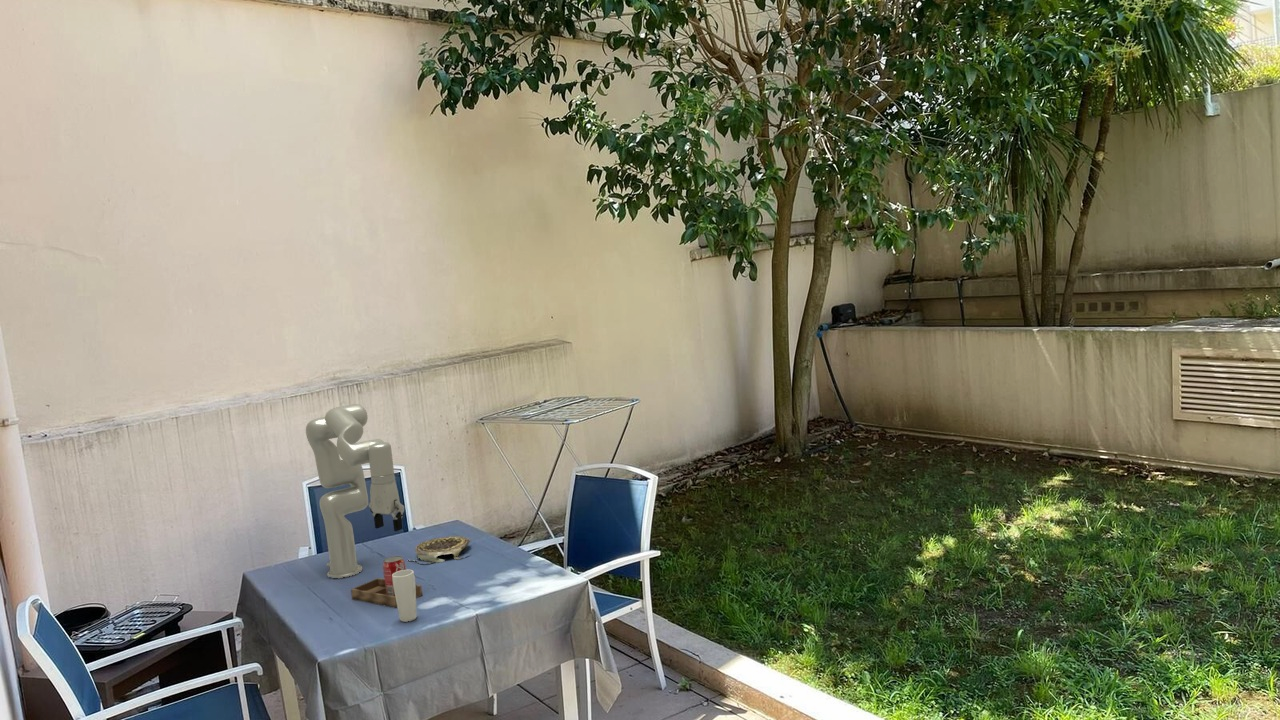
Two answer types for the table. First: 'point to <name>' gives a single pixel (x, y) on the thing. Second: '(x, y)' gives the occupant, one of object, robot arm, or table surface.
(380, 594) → the wooden compartment tray
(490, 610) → the table surface
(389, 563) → the soda can
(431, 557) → the pie
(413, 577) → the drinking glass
